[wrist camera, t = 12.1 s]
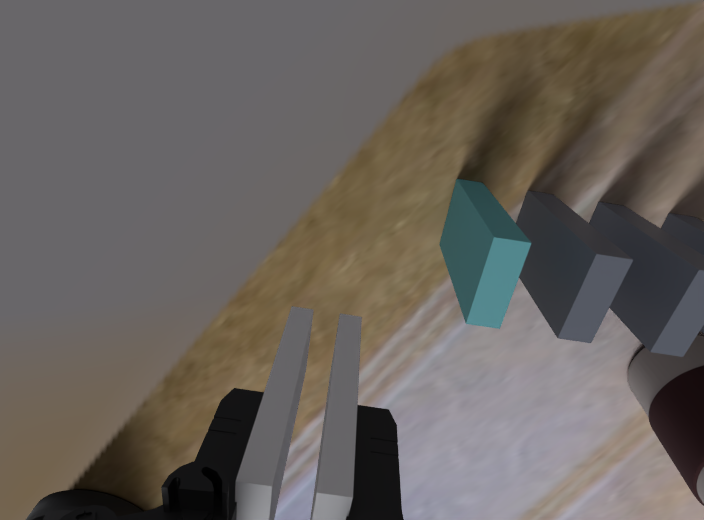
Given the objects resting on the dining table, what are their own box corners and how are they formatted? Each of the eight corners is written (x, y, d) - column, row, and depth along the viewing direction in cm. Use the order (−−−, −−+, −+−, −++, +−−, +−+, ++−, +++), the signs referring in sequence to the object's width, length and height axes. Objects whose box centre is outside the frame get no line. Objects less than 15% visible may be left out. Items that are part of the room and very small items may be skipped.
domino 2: (505, 254, 31) (557, 338, 22) (527, 190, 29) (596, 254, 20) (528, 258, 31) (591, 343, 22) (553, 194, 29) (633, 259, 20)
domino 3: (571, 265, 31) (650, 352, 22) (598, 201, 29) (698, 269, 20) (594, 268, 31) (683, 357, 22) (623, 205, 29) (735, 275, 20)
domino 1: (439, 244, 31) (465, 323, 22) (456, 178, 29) (494, 237, 20) (463, 248, 31) (499, 328, 22) (482, 182, 29) (531, 242, 20)
